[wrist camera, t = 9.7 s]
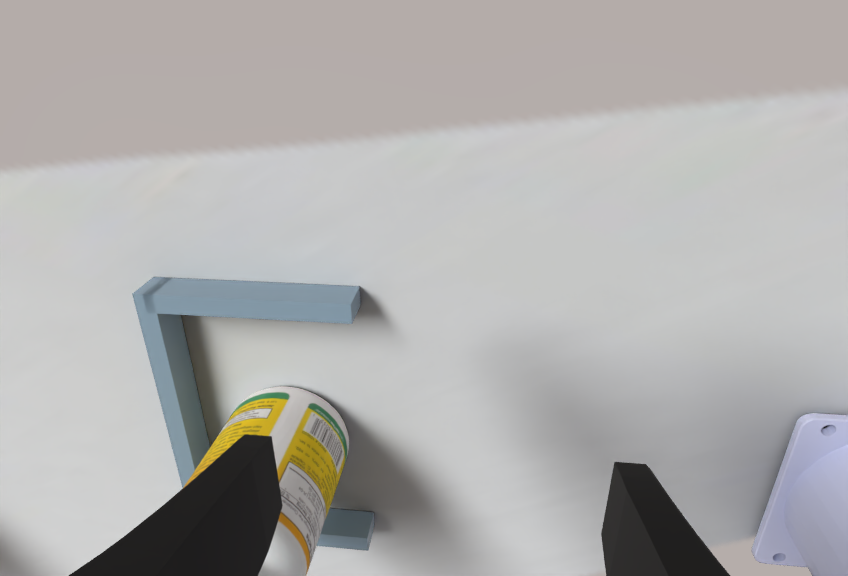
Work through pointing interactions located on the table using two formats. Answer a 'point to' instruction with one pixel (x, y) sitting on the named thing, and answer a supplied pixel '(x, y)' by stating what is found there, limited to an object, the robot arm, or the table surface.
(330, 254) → the table surface
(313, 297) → the blue-grey u-shaped bracket
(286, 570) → the supplement bottle
